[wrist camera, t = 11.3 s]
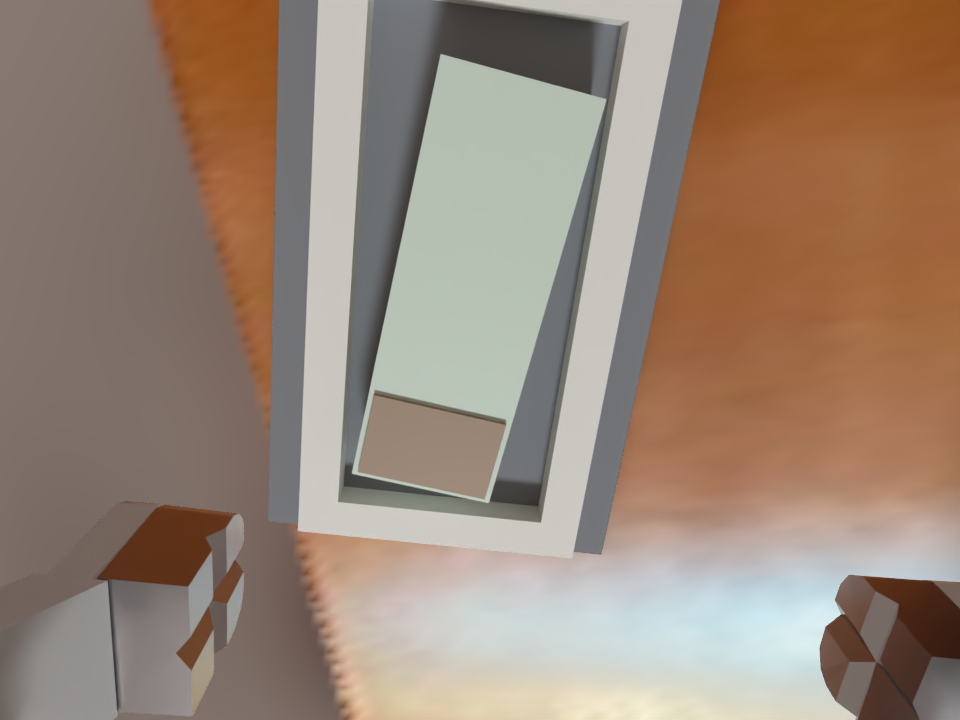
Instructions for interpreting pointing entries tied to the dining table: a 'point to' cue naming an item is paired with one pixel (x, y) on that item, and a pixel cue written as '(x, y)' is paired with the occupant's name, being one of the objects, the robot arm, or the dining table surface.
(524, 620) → the dining table surface
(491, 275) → the pale green rectangular block
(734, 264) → the dining table surface
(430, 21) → the picture frame
